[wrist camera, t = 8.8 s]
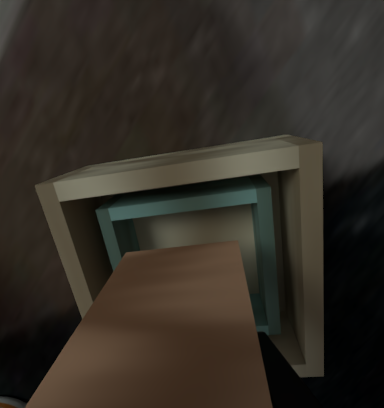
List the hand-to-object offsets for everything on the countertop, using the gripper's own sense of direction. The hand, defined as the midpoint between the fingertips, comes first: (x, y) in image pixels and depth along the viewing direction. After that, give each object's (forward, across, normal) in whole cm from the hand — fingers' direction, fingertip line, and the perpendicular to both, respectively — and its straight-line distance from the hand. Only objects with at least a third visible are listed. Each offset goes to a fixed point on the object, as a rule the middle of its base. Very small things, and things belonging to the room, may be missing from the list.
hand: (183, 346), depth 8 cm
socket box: (+8, 0, 0) cm, 8 cm away
